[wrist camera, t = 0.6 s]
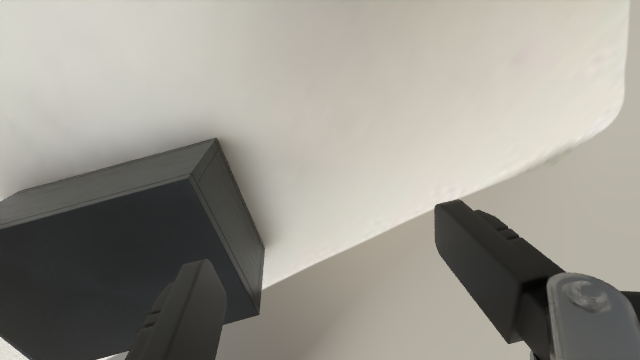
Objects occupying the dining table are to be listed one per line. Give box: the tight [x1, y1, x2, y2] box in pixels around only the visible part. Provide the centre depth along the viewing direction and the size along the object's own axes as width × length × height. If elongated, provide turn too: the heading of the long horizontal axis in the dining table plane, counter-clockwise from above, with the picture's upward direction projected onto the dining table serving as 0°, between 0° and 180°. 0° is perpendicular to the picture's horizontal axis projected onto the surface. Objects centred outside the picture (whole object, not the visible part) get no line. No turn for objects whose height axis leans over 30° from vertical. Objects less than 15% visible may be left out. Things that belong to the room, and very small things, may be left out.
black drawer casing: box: [0, 138, 265, 360], centre depth 24 cm, size 19×14×9 cm
